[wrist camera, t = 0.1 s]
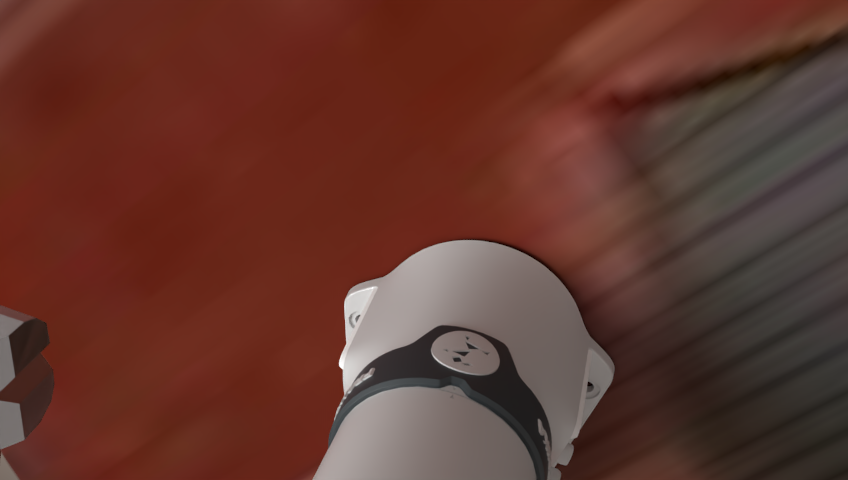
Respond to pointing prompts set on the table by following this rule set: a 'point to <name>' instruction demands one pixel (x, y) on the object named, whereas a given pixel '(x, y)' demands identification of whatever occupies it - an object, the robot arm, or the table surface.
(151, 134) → the table surface
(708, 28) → the table surface
